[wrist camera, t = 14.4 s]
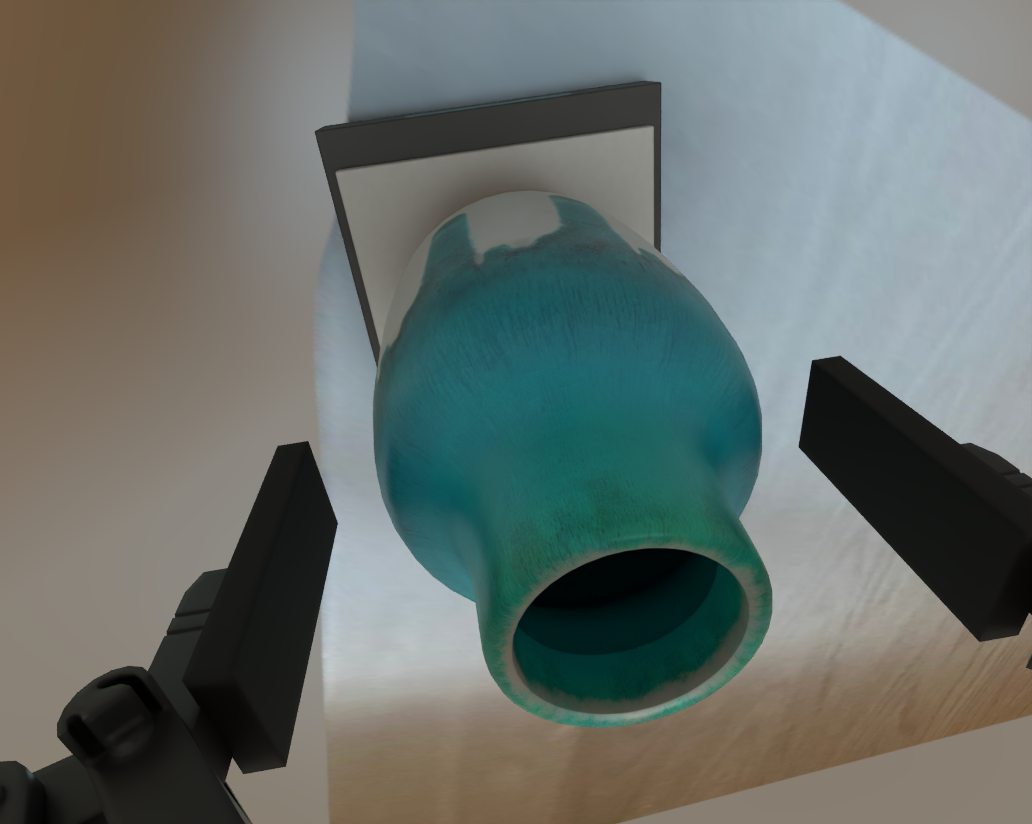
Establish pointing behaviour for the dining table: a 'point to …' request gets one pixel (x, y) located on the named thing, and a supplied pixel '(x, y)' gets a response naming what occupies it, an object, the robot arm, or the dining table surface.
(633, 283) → the vase
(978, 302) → the dining table surface
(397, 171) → the scale
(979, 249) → the dining table surface
